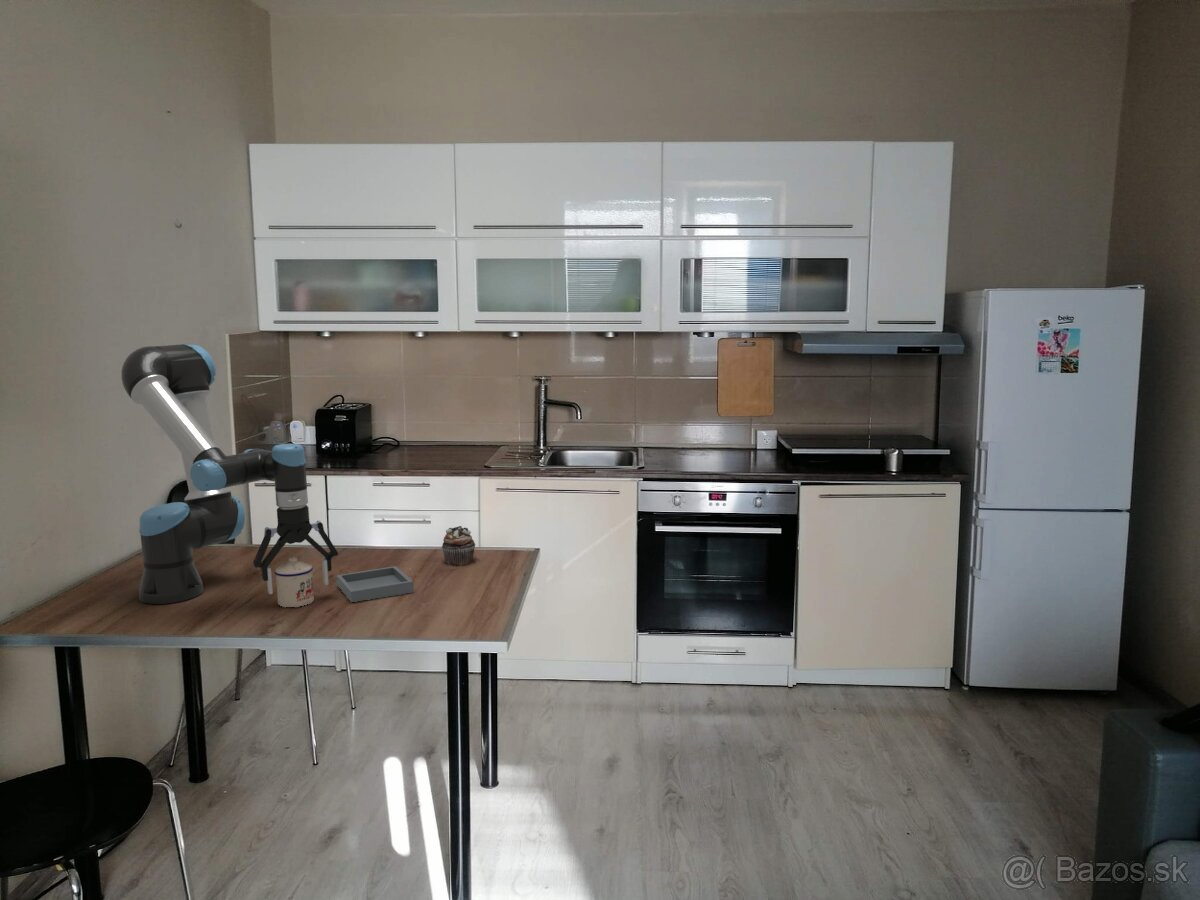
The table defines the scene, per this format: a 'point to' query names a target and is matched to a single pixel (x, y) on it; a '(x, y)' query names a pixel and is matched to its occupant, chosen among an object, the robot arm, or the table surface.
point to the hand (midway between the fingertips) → (298, 588)
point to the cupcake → (458, 546)
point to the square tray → (374, 584)
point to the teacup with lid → (294, 583)
